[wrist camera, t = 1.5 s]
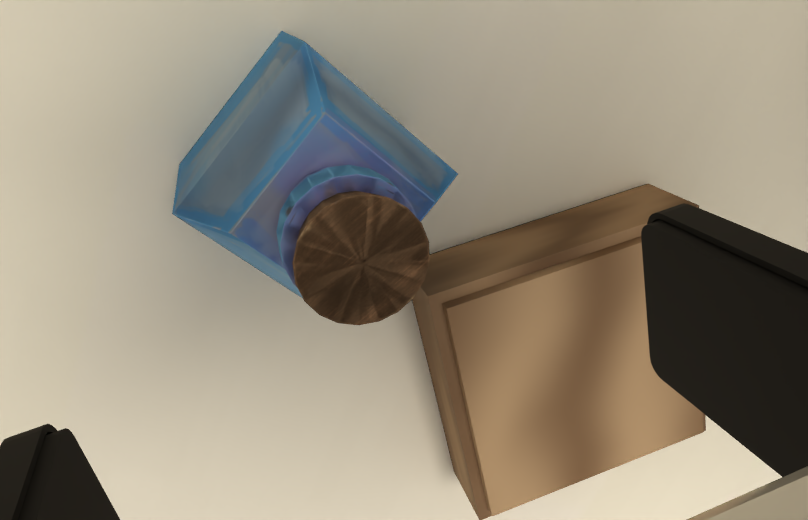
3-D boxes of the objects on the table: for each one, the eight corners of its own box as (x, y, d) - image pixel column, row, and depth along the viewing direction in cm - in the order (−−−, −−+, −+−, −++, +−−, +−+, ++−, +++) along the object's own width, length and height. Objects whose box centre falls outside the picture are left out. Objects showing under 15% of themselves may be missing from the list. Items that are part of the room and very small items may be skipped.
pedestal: (648, 183, 31) (706, 208, 27) (661, 391, 36) (712, 436, 32) (403, 263, 29) (431, 301, 25) (454, 471, 34) (483, 528, 30)
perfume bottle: (310, 254, 27) (378, 421, 17) (179, 164, 25) (160, 295, 14) (405, 136, 27) (540, 232, 16) (281, 30, 24) (343, 60, 13)
